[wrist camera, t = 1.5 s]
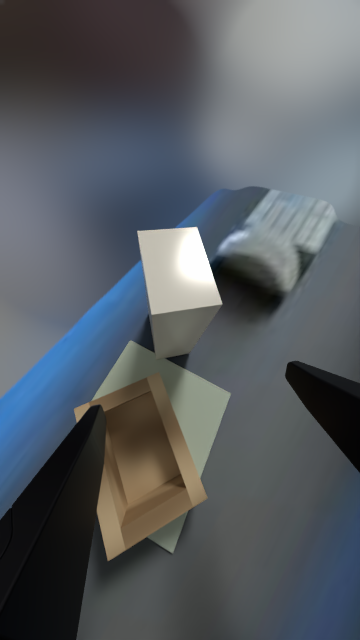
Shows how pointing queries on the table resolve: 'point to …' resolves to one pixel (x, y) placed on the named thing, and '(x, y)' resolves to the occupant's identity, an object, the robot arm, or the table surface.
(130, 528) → the tray
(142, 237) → the off-white rectangular block
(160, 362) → the mat
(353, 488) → the table surface
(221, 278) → the table surface
